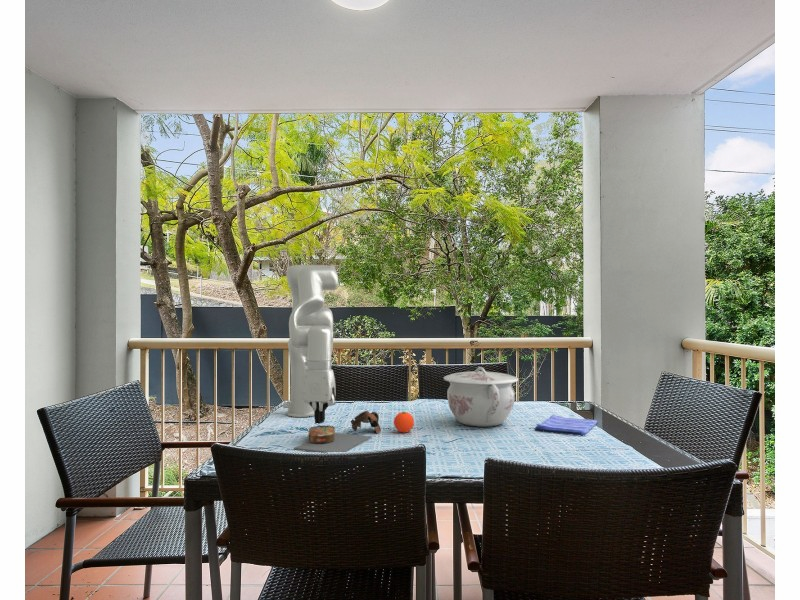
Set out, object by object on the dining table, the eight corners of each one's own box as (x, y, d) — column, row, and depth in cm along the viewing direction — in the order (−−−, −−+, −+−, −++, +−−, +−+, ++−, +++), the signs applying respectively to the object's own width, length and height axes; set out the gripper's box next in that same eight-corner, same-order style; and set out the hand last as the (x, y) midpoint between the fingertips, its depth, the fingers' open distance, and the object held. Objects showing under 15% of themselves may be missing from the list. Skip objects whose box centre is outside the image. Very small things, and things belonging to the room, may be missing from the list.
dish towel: (533, 432, 202) (533, 424, 202) (551, 419, 223) (551, 412, 223) (584, 438, 194) (584, 429, 194) (598, 424, 215) (598, 416, 214)
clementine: (394, 429, 205) (394, 408, 205) (414, 429, 205) (414, 409, 205) (393, 434, 197) (393, 413, 197) (413, 434, 197) (413, 413, 197)
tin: (310, 425, 197) (335, 423, 198) (310, 435, 197) (335, 432, 198) (307, 436, 182) (334, 433, 183) (307, 446, 182) (334, 443, 183)
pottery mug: (376, 437, 195) (363, 416, 195) (355, 446, 199) (343, 426, 199) (390, 421, 206) (378, 401, 205) (370, 430, 210) (358, 411, 210)
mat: (293, 449, 178) (293, 447, 178) (329, 433, 199) (329, 432, 199) (340, 454, 172) (340, 453, 172) (372, 437, 193) (372, 436, 193)
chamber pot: (461, 412, 233) (461, 361, 233) (528, 420, 220) (528, 365, 219) (429, 426, 209) (429, 368, 209) (502, 435, 195) (502, 374, 195)
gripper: (293, 366, 187) (293, 423, 187) (334, 368, 181) (334, 427, 181) (305, 363, 194) (306, 418, 194) (345, 365, 188) (345, 422, 188)
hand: (319, 422), depth 187 cm, fingers closed
